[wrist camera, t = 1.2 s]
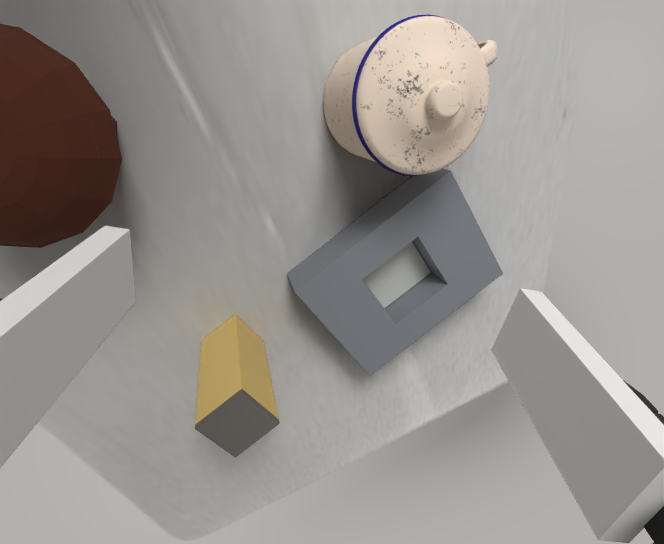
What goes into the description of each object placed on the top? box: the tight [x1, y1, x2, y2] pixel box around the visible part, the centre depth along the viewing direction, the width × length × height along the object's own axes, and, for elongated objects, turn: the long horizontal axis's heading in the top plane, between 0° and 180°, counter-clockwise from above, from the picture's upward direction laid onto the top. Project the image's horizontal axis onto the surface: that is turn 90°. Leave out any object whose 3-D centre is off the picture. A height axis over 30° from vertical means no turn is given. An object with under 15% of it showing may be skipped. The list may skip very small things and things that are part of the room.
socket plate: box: [287, 169, 503, 376], centre depth 36 cm, size 12×16×4 cm
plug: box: [195, 314, 279, 457], centre depth 31 cm, size 4×4×11 cm
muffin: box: [0, 24, 122, 248], centre depth 22 cm, size 12×11×10 cm
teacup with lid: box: [323, 15, 498, 176], centre depth 26 cm, size 12×9×12 cm
